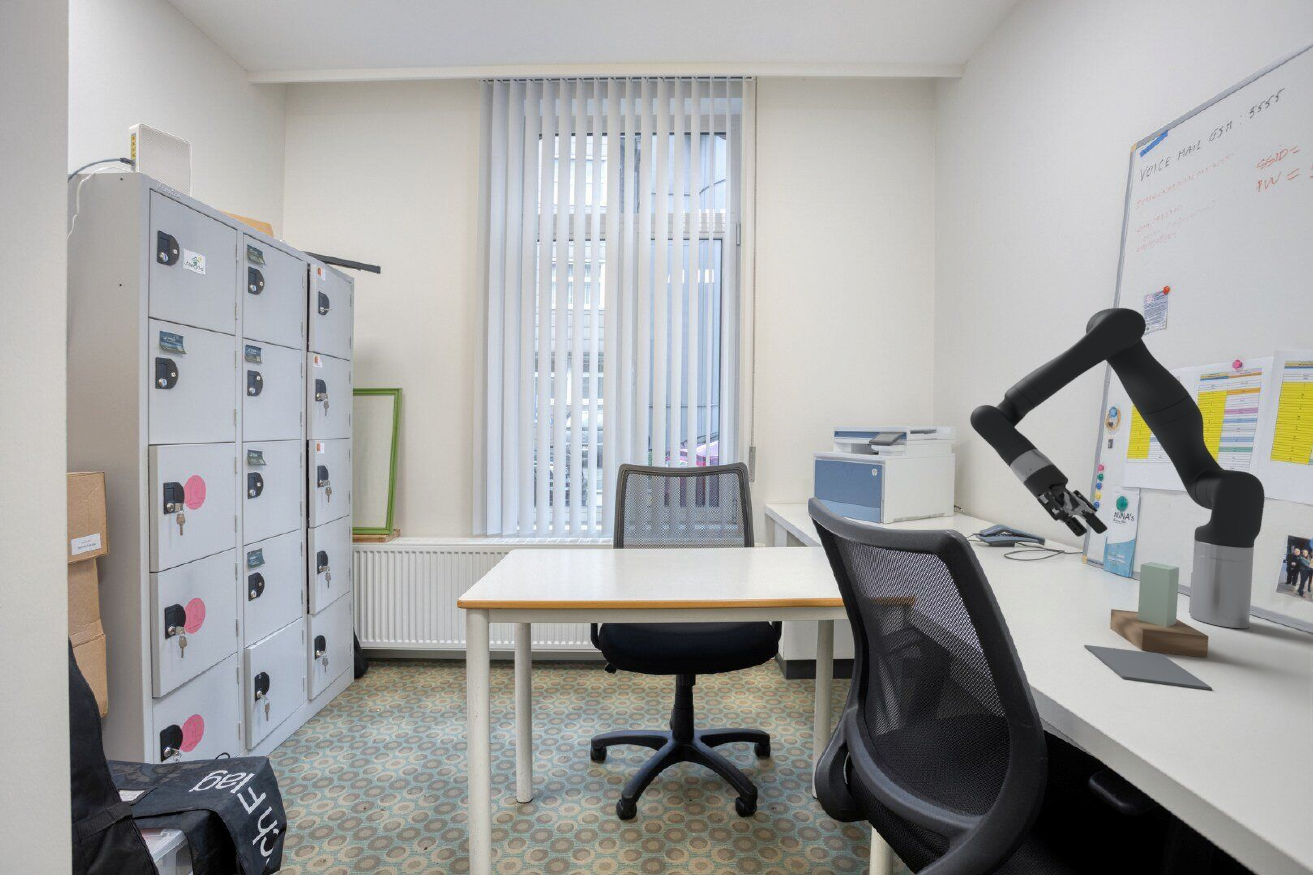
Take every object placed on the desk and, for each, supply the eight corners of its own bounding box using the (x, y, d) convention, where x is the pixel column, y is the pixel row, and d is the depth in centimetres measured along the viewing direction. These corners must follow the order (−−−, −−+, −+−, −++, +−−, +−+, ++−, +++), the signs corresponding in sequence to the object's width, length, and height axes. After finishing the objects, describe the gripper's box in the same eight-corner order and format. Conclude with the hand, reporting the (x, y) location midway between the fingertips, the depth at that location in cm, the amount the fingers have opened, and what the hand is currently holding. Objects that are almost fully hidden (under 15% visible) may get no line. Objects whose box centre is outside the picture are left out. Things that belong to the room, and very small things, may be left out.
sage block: (1137, 619, 112) (1140, 564, 111) (1147, 616, 114) (1150, 562, 113) (1166, 627, 108) (1169, 569, 107) (1176, 623, 110) (1179, 567, 110)
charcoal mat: (1084, 646, 107) (1084, 644, 107) (1160, 655, 104) (1160, 653, 104) (1122, 678, 94) (1122, 676, 94) (1211, 689, 90) (1211, 687, 90)
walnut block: (1110, 628, 118) (1111, 609, 118) (1168, 634, 115) (1169, 614, 115) (1141, 650, 106) (1142, 629, 106) (1207, 657, 104) (1208, 636, 104)
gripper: (1033, 463, 124) (1091, 525, 114) (1067, 462, 131) (1125, 520, 121) (1007, 485, 129) (1061, 545, 119) (1041, 483, 136) (1095, 540, 126)
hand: (1093, 533), depth 120 cm, fingers open, 8 cm apart
